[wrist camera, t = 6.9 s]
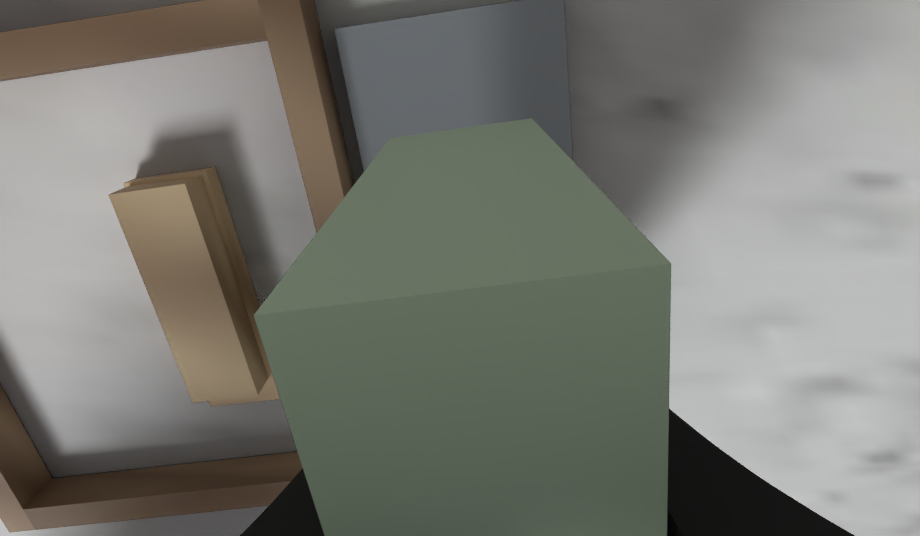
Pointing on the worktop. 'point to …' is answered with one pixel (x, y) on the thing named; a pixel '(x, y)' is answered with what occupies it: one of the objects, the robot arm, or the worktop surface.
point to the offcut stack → (197, 283)
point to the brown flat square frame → (326, 182)
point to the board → (477, 347)
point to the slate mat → (458, 72)
